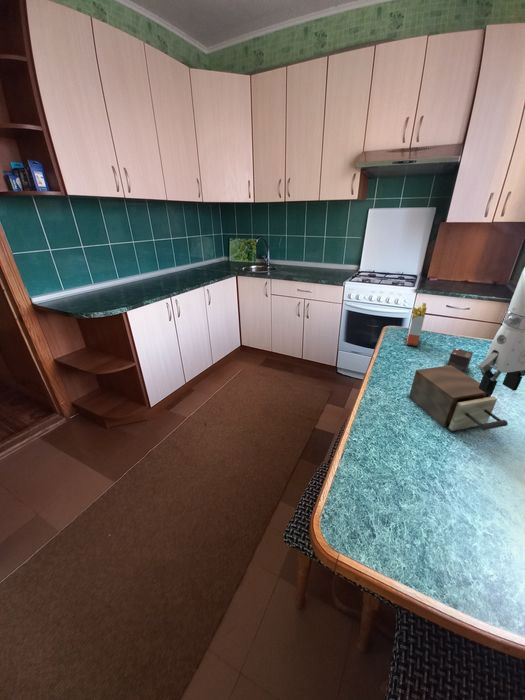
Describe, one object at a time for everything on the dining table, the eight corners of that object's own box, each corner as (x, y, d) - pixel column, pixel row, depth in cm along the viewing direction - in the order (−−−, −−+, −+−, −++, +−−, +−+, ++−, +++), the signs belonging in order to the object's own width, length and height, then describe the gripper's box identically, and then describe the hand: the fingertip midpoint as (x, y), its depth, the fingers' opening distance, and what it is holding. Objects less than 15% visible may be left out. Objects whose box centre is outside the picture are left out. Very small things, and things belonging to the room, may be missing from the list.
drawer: (506, 439, 76) (519, 412, 72) (470, 447, 74) (481, 420, 70) (448, 396, 93) (456, 372, 89) (417, 401, 91) (424, 377, 87)
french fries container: (404, 347, 126) (413, 307, 117) (406, 337, 134) (414, 300, 126) (416, 349, 124) (426, 309, 116) (417, 339, 132) (426, 301, 124)
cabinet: (480, 421, 83) (493, 391, 79) (442, 428, 81) (453, 397, 76) (441, 392, 96) (450, 364, 91) (408, 398, 94) (415, 369, 89)
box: (463, 376, 104) (470, 358, 101) (445, 370, 108) (450, 353, 105) (467, 369, 108) (473, 352, 105) (449, 364, 112) (454, 347, 109)
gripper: (510, 332, 58) (480, 404, 66) (577, 323, 61) (541, 393, 69) (477, 318, 64) (454, 386, 73) (539, 311, 68) (510, 376, 76)
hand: (497, 388), depth 71 cm, fingers open, 6 cm apart
